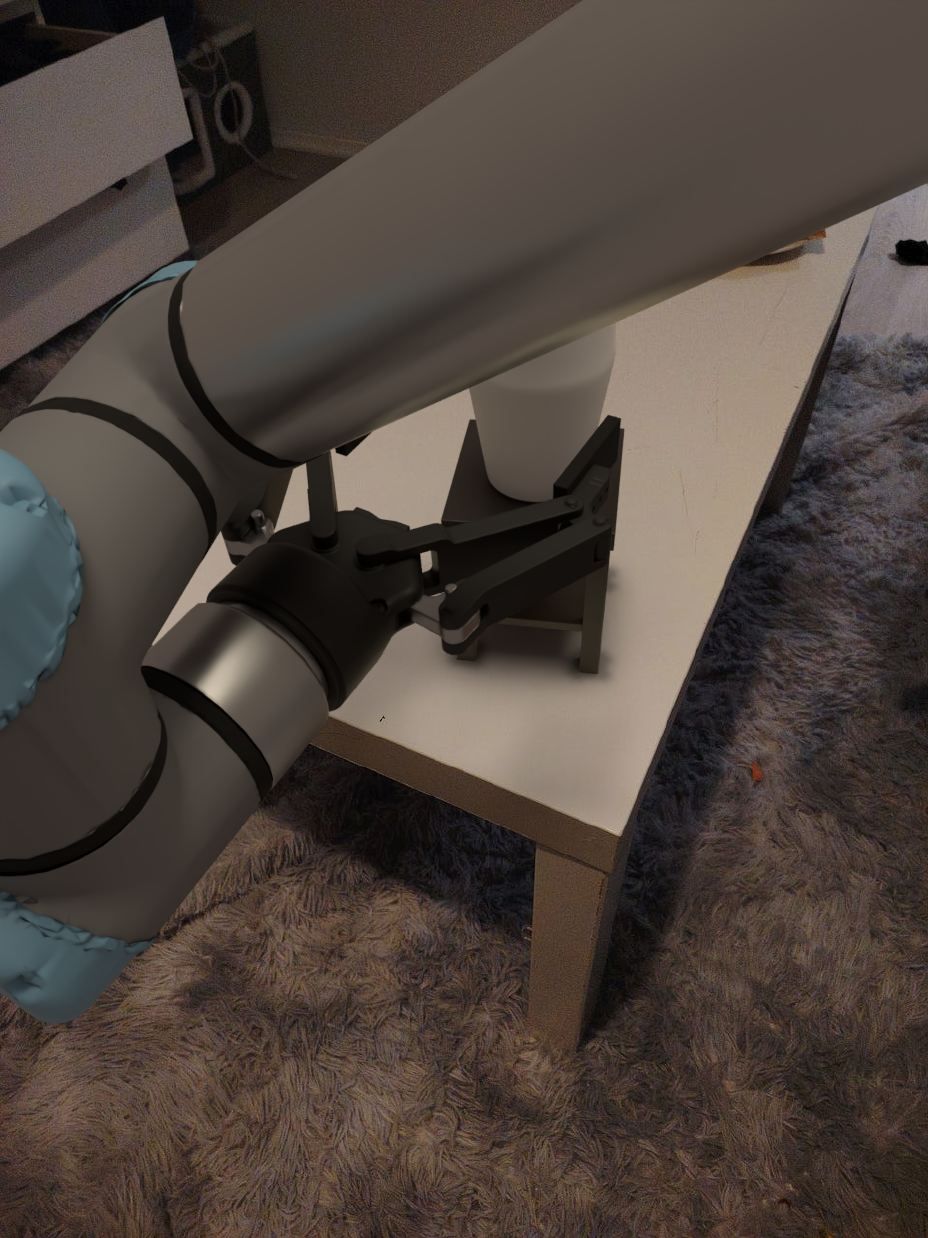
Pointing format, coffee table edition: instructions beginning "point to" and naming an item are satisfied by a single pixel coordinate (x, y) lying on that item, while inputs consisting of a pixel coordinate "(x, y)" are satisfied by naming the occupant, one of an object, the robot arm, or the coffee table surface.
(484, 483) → the high stand
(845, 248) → the coffee table surface
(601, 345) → the cup
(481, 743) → the coffee table surface
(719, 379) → the coffee table surface
